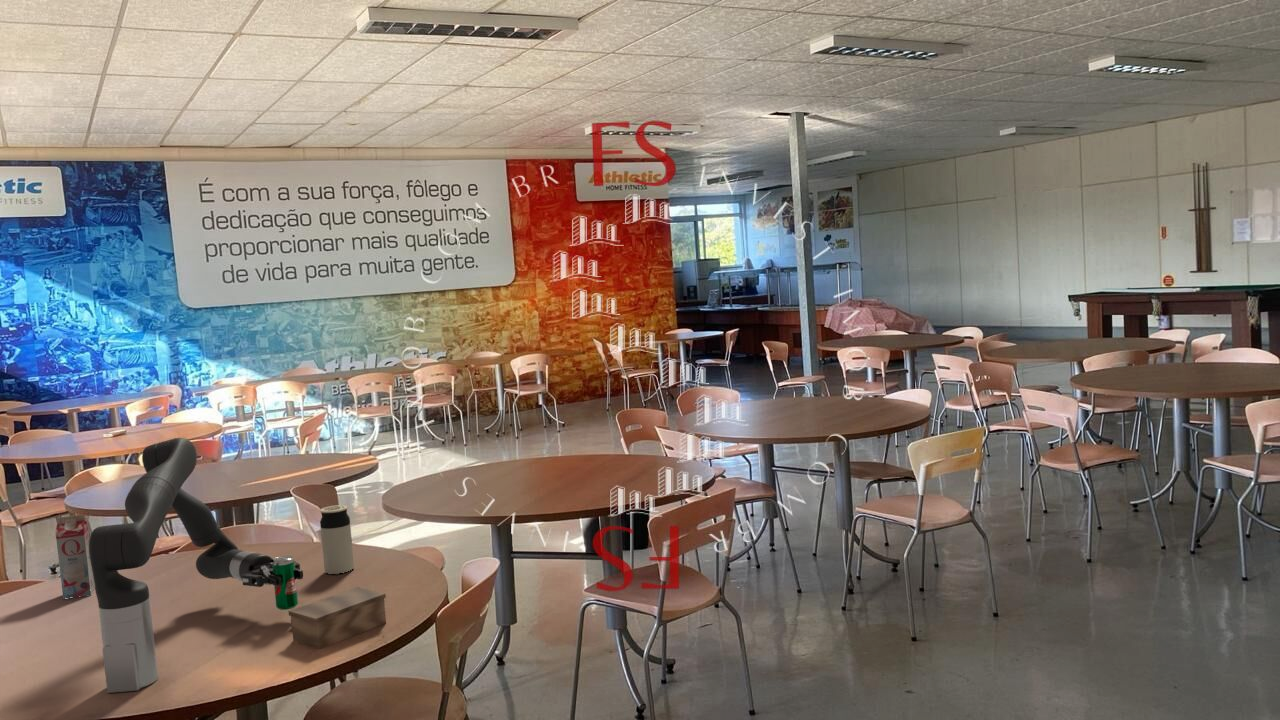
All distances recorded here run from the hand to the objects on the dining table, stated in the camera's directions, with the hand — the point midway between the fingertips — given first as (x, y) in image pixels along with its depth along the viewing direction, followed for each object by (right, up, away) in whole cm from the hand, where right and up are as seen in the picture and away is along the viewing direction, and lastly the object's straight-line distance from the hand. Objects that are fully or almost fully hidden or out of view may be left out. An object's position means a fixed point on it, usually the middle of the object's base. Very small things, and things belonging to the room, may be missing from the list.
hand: (290, 578), depth 229 cm
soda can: (-2, -8, +2) cm, 8 cm away
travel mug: (-2, -8, +42) cm, 43 cm away
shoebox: (+14, -11, -8) cm, 19 cm away
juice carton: (-71, -13, +36) cm, 81 cm away
